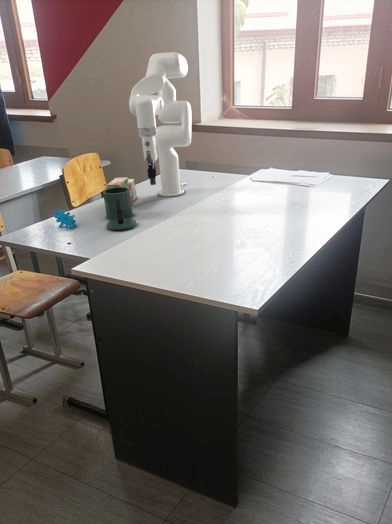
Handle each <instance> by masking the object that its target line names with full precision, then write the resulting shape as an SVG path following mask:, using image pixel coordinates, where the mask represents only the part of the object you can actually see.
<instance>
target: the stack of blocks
mask: <svg viewBox="0 0 392 524" xmlns="http://www.w3.org/2000/svg"><path fill="white" fill-rule="evenodd" d="M106 187H107V188H106V189H109V188H114V187H127V188H129V189H130V197H131V204H132V203H133V202H134V201H135V200H137V197H138V195H137V189H136V181H135V178H129V177H126V176H125V177H114V179H111V181H109V183H107V184H106Z"/></svg>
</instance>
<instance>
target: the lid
mask: <svg viewBox="0 0 392 524" xmlns="http://www.w3.org/2000/svg"><path fill="white" fill-rule="evenodd" d="M116 214H117V219H115V220H109V221H108V222H107V223H105V225H106V228H107V230H112V231H123V230H124V231H125V230H129V229H131V228H134V227H135V226H137V221H136V220H135V219H133V218H124V216H123V211H122V210H118V211H116Z"/></svg>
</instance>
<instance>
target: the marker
mask: <svg viewBox="0 0 392 524" xmlns="http://www.w3.org/2000/svg"><path fill="white" fill-rule="evenodd" d="M151 161H152V160H151ZM149 184H150V185H151V186H155V185H156V184H157V180H156V178H149Z"/></svg>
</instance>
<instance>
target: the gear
mask: <svg viewBox="0 0 392 524" xmlns="http://www.w3.org/2000/svg"><path fill="white" fill-rule="evenodd" d="M65 212H66V210H65V209H59V208H58V209H57V210H55V211H54V212H53V214H54V215H53V218H54V219H56V220H55V221H56V223H57V224H58V223H59V225H58V227H59V228H62V227H64V226H65V227H64V228H65V229H72V230H73V229H74V227H76V226H77V224H76V223H77V220H76V219H75V217H76V215H75V214H72V215H71V212H70V211H67V212H66V213H65Z"/></svg>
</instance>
